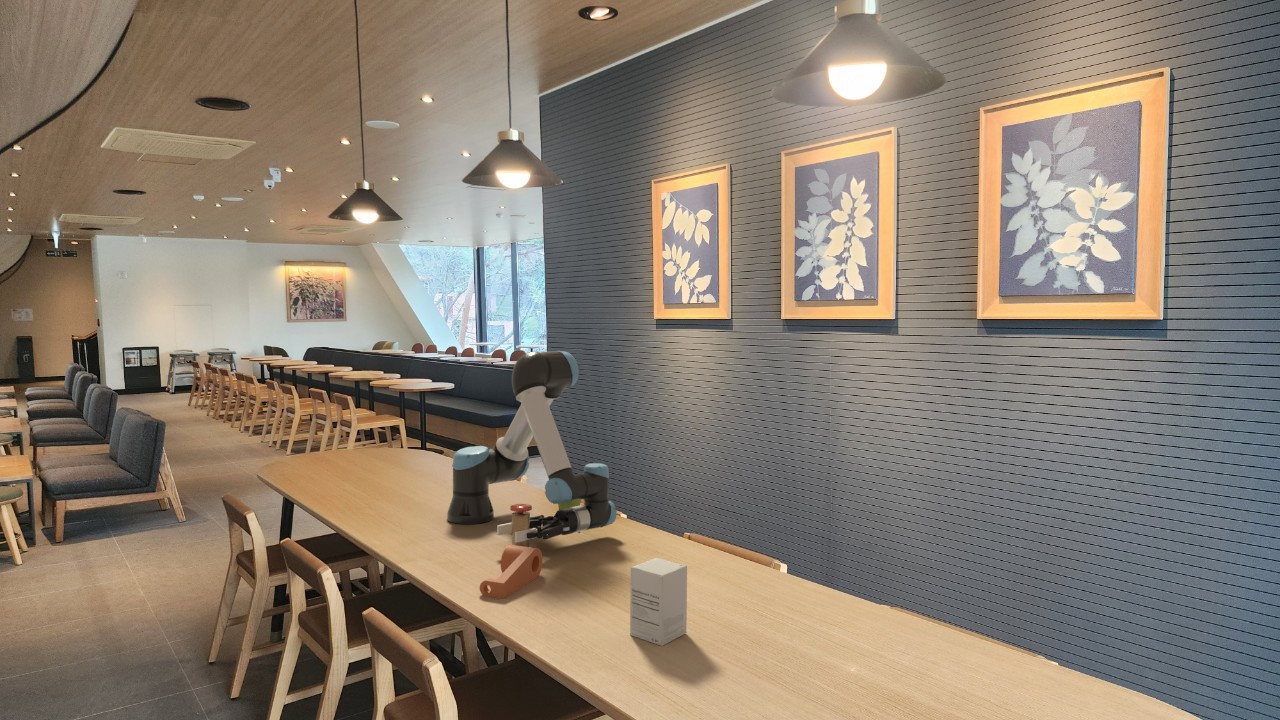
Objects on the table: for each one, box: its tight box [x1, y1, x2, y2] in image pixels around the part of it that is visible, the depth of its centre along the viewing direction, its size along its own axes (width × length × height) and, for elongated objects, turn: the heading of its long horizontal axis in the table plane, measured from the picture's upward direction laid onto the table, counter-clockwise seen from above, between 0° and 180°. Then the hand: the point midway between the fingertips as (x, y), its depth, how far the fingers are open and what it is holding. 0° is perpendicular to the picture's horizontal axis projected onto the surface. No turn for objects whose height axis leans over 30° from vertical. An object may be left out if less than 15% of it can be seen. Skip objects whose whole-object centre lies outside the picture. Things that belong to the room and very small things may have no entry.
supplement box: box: [629, 557, 688, 647], centre depth 167 cm, size 9×9×15 cm
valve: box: [509, 503, 533, 547], centre depth 220 cm, size 6×6×14 cm
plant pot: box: [557, 499, 582, 510], centre depth 261 cm, size 9×9×9 cm
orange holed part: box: [479, 544, 544, 599], centre depth 197 cm, size 20×8×8 cm, turn 160°
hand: (506, 533), depth 217 cm, fingers open, 8 cm apart
